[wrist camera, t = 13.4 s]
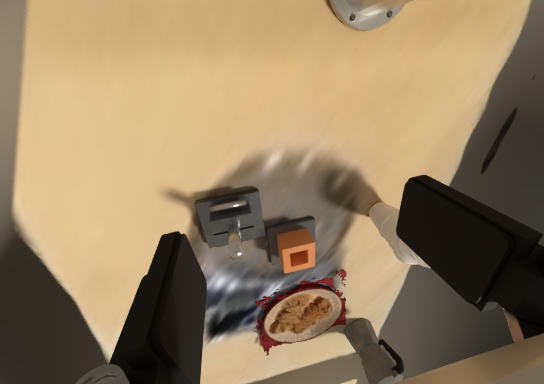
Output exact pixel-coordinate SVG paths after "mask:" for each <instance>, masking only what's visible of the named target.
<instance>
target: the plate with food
mask: <svg viewBox="0 0 544 384" xmlns="http://www.w3.org/2000/svg"><path fill="white" fill-rule="evenodd" d="M337 273H339V271H338V272H336V274H337ZM342 273H343V275H342ZM346 273H347V272H346V271H342V270H341V271H340V274H341V275H342V276H340V274H339V276H340V277H342V281H343V280H344V279H343V278H344V277H346ZM314 279H315V278H314ZM308 282H310V281H304V282H301V284H302V285H301V284H300V285H301V286H300V285H298V286H299V287H298V286H296V287H298V288H296V289H294V290H291V291H289V292H287V293H284V294H283V295H279V297H276V298H275V299H276V300H274V301H272V304H271V302H270V303H267V304H266V303H265V302H267V301H268V300H270V297H271V296H272V295H271V296H269V297H267V296H263V297H262V298H266V300H264V301H260V299H259V301H255V303H256V304H257V306H259V305H261V304H263V303H265V304H264V305H262V308H263V309H264V308H266V309H265V310H264V312H263V313H265V311H266V310H267V311H266V312H267V313H266V315H265V318H264V320H263V319H261V320H260V322H261V323H262V324H260V322H259V320H257V323H258V324H259V325H260V326H261V328H260V327H258V326H257V325H256V326H257V330H260V331H261V333H260V334H261V336H260V339H261V342H262V346H263V349H264V352H265V351H266V352H267V356H268V354H269V353H268V352H269V348H271V347H272V345H273V346H277V345H282V344H285V343H286V344H287V343H288V344H291V343H295V342H301V341H306V340H308V339H309V340H310V339H312V338H315V337H316V336H318V335H320V334H322V333H323V332H324V331H326V330H328V329H329V328H330V327H333V326H336V325H342V324H343V325H345V324H346V323H345V322H346V320H345V319H346V317H345V312H346V310H345V301H346V300H345V298H344V299H341V298H340V297H341V296H342V294H343V292H342V293H340V292H339V290H336V288H335V287H334V286H333V284H332V283H333V278H329V279H327V278H323V279H322V280H319V281H317V282H310V283H308ZM318 283H324V284H325V283H327V284H328V285H329V283H330V287H332V288H335V289H334V291H335V292H334V291H333V290H331V289H329V288H328V287H327V286H324V285H321V284H318ZM342 284H343V283H342ZM344 285H345V284H344ZM276 290H278V289H276ZM336 291H338V292H336ZM278 292H280V291H278ZM278 292H277V293H278ZM274 294H276V292H275V293H274ZM270 304H271V305H270ZM269 305H270V307H269ZM268 307H269V308H268ZM267 308H268V309H267ZM257 317H258V316H257Z"/></svg>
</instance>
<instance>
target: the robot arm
mask: <svg viewBox="0 0 544 384" xmlns="http://www.w3.org/2000/svg"><path fill="white" fill-rule="evenodd" d="M411 1H413V0H329V2H330V4H331V7H332V9H333V11H334V12H335V14H336V16H337V17H338V19H339V20H340V21H341V22H342V23H343V24H345V25H346V26H348V27H349V28H351V29H354V30H357V31H368V30H373V29H376V28H379V27H381V26H383V25H385V24H386V23H388V22H389V21H391V20H392V19H393V18H394V17H395V16H396V15H397V14H398V13H399V12H400V10H401V9H402V8H403V7H404V5H405V3H408V2H411ZM349 17H350V20H349ZM396 234H397V236H398V237H399V238H400V239H401V240H402V241H403V242H404V243H405V244H406V245H407V246H408V247H409V248H410V249H411V250H412V251H413V252H414V253H416V254H417V255H418V256H419V257H420V258H421V259H422V260H423V261H424V262H425V263H426V264H427V265H428V266H429V267H430V268H431V269H433V270H434V271H435V272H436V273H437V274H438V275H439V276H440V277H441V278H442V279H443V280H444V281H445V282H446V283H448V285H450V286H451V287H452V288H453V289H454V290H455V291H456V292H457V293H458V294H459V295H460V296H461V297H462V298H463V299H465V300H466V301H467V302H469V303H471V304H473V305H474V306H475V307H477V309H479V310H480V311H481V312H483V311H486V310H489V309H493V308H495V307H496V305H497V304H499V305H500V306H502V307H503V310H504V313H505V317H506V320H507V323H508V325H509V328H510V332H511V335H512V338H513V341H514V343H513V344H510V345H507V346H504V347H501V348H498V349H495V350H492V351H489V352H486V353H483V354H480V355H477V356H474V357H471V358H468V359H465V360H462V361H459V362H456V363H453V364H450V365H447V366H444V367H441V368H439V369H435V370H432V371H429V372H426V373H423V374H420V375H417V376H414V377H412V378H409V379H406V380H403V381H400V382H397V383H394V384H544V246H541V245H539V244H538V242H539V240H540V239H541V237H542V236H543V234H542V233H540V232H538V231H536V230H534V229H532V228H530V227H528V226H526V225H524V224H522V223H520V222H518V221H516V220H514V219H512V218H510V217H508V216H506V215H504V214H502V213H500V212H498V211H496V210H494V209H492V208H490V207H488V206H486V205H484V204H482V203H480V202H478V201H476V200H474V199H473V198H470V197H469V196H467V195H465V194H463V193H461V192H459V191H457V190H455V189H453V188H451V187H449V186H447V185H445V184H443V183H441V182H439V181H437V180H435V179H433V178H431V177H429V176H427V175H420V176H416V177H412V178H410V179H409V180H408V181H407V183H406V184H405V187H404V191H403V196H402V201H401V206H400V211H399V216H398V221H397V226H396ZM206 291H207V284H206V279H205V277H204V274H203V272H202V270H201V268H200V265H199V263H198V261H197V259H196V256H195V254H194V252H193V250H192V247H191V245H190V243H189V241H188V238H187V236H186V235H185V234H181V233H180V232H179V231H177V232H172V233H168V234H164V235H162V236H161V238H160V241H159V244H158V247H157V249H156V252H155V255H154V257H153V260H152V263H151V266H150V268H149V271H148V274H147V275H145V276H144V277H143V278H142V280H141V282H140V285H139V288H138V290H137V293H136V295H135V298H134V300H133V303H132V306H131V308H130V311H129V313H128V316H127V319H126V321H125V324H124V326H123V329H122V332H121V334H120V337H119V339H118V342H117V344H116V347H115V350H114V352H113V355H112V357H111V360H110V363H109V364H108V365H103V366H100V367H98V368H96V369H94V370H92V371H90V372H89V373H88V374H86V375H85V376H84V377H82V378H81V379H80V380H79V381H78V382H77V383H76V384H200V376H201V362H202V347H203V333H204V319H205V305H206Z"/></svg>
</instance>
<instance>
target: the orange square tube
mask: <svg viewBox="0 0 544 384" xmlns="http://www.w3.org/2000/svg"><path fill="white" fill-rule="evenodd" d="M277 242H278V251H279V258H280V261H281V264H282V267H283V270H284V273H289V272H293V271H297V270H301V269H305V268H309V267H313V266H315V242H314V240H313V238H312V236H311V235H310V233H309V231H308V229H307V228H304V229H300V230H295V231H291V232H286V233H282V234H277Z"/></svg>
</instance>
